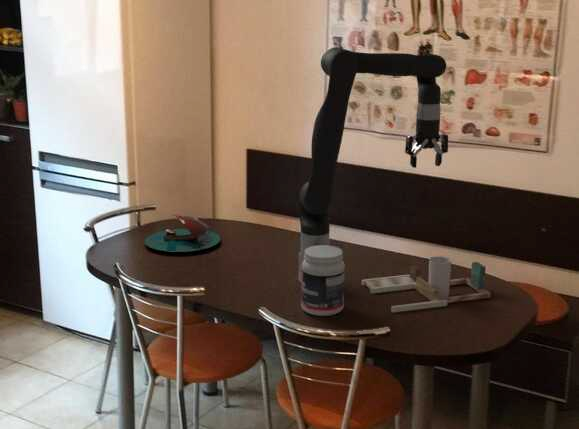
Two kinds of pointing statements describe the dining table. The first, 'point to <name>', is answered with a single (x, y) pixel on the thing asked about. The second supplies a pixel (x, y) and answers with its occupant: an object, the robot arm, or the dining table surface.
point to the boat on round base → (184, 237)
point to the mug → (440, 275)
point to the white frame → (475, 283)
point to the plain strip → (396, 279)
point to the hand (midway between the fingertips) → (425, 166)
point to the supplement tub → (323, 280)
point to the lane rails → (404, 287)
